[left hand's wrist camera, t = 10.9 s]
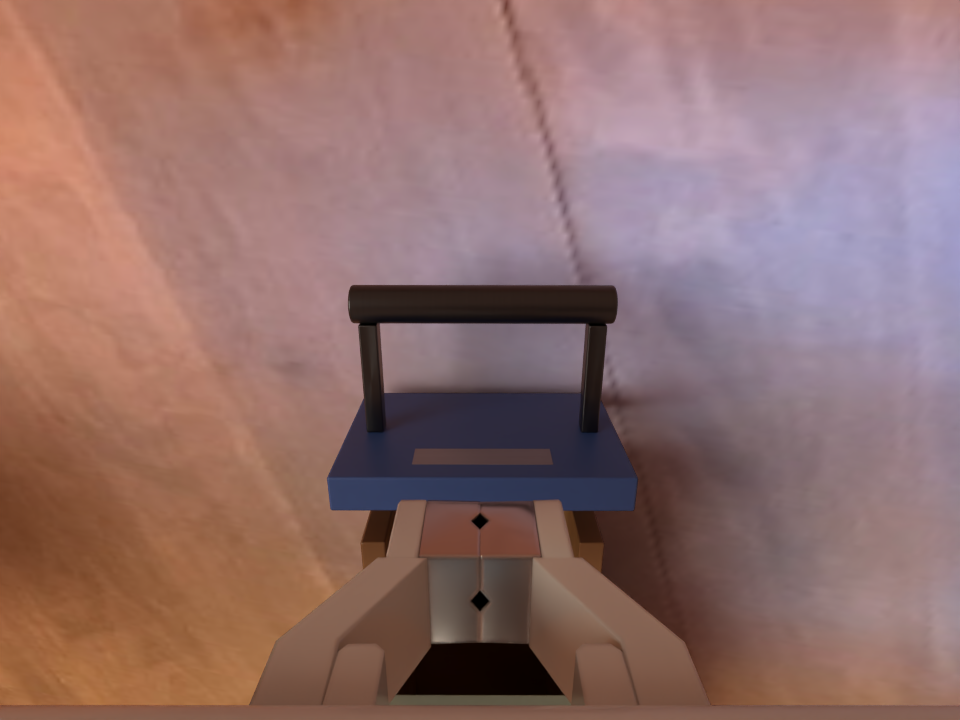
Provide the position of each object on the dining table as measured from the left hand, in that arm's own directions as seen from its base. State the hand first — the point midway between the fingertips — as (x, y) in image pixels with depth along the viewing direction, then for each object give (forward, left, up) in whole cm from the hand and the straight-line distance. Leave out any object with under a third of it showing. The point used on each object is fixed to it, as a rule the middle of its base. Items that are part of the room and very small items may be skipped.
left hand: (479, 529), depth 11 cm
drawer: (+9, +3, -12) cm, 15 cm away
